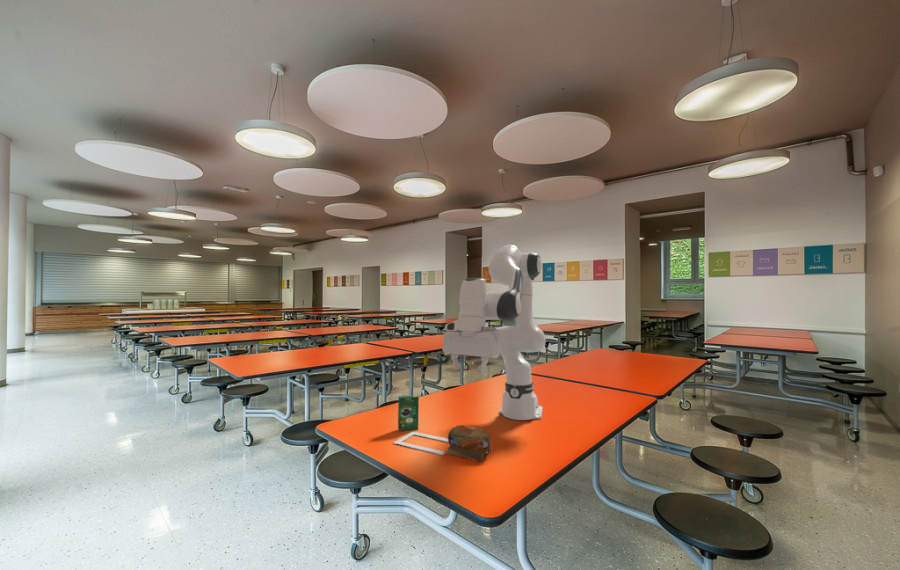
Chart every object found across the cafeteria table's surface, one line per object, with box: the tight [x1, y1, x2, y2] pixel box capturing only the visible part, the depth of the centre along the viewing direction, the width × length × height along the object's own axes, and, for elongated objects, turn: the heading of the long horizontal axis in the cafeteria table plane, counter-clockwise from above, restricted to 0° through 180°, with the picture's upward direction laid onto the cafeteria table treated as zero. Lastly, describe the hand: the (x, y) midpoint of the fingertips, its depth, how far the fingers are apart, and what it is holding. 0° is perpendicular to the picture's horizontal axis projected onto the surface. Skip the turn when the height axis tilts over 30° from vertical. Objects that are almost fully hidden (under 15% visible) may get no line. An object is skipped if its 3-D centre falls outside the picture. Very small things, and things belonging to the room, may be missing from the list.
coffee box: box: [397, 394, 420, 431], centre depth 138 cm, size 8×3×13 cm, turn 104°
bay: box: [393, 431, 449, 456], centre depth 124 cm, size 12×20×1 cm, turn 61°
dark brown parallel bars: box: [447, 445, 492, 462], centre depth 115 cm, size 8×12×2 cm
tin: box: [447, 425, 492, 457], centre depth 115 cm, size 15×3×8 cm, turn 62°
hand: (468, 370), depth 109 cm, fingers open, 8 cm apart
